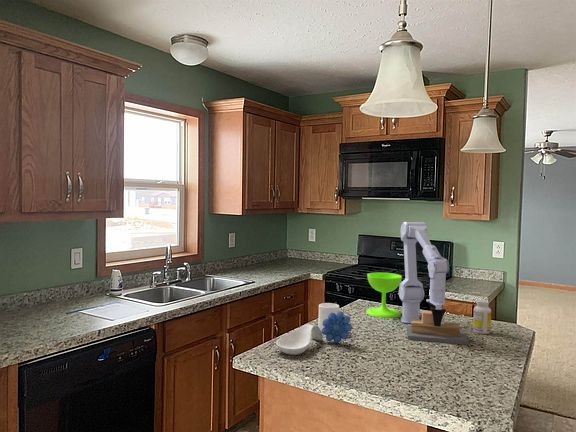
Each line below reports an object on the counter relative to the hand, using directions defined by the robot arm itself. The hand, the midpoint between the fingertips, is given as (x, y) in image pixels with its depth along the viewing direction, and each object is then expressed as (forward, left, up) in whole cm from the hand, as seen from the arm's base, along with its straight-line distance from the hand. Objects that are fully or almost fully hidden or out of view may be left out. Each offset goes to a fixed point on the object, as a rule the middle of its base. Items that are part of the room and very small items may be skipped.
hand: (436, 323), depth 180 cm
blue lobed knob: (+18, -37, -5) cm, 42 cm away
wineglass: (-31, -21, -5) cm, 38 cm away
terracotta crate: (0, -3, 0) cm, 3 cm away
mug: (+2, -42, -6) cm, 42 cm away
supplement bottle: (-12, +19, -5) cm, 23 cm away
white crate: (0, +1, 0) cm, 1 cm away
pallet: (0, 0, -4) cm, 4 cm away
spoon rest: (+28, -49, -6) cm, 56 cm away
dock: (0, 0, -5) cm, 5 cm away
